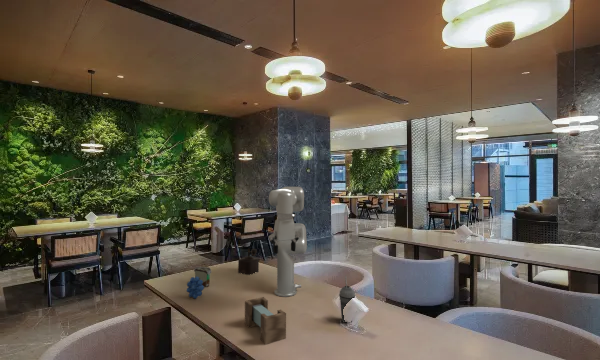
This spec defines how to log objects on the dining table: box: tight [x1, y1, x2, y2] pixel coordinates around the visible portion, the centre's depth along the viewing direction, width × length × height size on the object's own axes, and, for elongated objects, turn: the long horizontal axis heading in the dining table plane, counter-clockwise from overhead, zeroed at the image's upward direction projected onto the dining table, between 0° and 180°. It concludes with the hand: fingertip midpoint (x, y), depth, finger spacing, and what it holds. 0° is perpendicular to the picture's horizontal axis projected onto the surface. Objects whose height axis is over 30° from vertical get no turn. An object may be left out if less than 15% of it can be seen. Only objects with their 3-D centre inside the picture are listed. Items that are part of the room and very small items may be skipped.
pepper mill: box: [237, 248, 260, 276], centre depth 217 cm, size 16×11×18 cm
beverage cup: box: [338, 275, 356, 323], centre depth 142 cm, size 7×7×20 cm
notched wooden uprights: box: [244, 296, 287, 345], centre depth 132 cm, size 9×21×10 cm, turn 32°
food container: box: [193, 266, 212, 288], centre depth 191 cm, size 12×6×10 cm, turn 58°
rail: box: [252, 304, 275, 328], centre depth 132 cm, size 4×16×6 cm, turn 32°
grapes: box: [186, 276, 205, 300], centre depth 169 cm, size 12×7×12 cm, turn 63°
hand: (284, 251), depth 155 cm, fingers open, 9 cm apart
